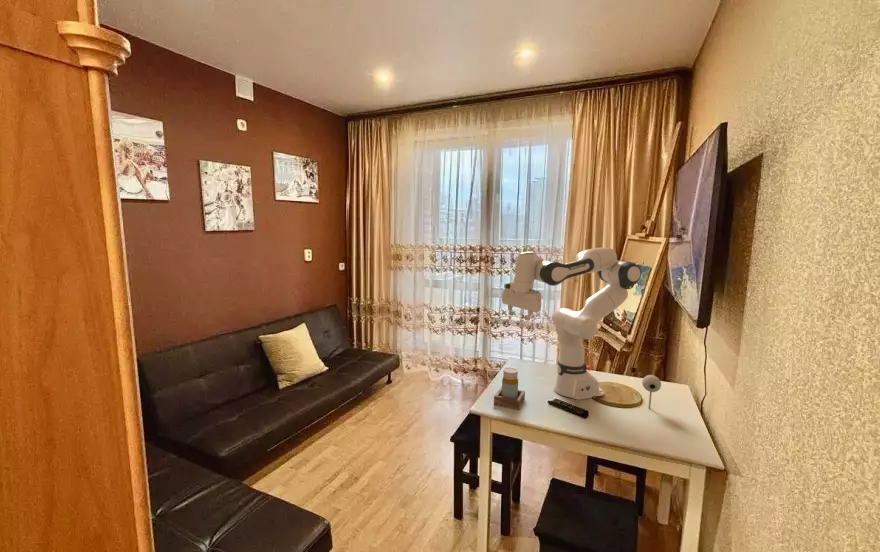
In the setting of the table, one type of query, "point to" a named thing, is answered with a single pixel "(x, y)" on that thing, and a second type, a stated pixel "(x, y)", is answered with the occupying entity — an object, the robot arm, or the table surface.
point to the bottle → (510, 383)
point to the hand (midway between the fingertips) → (519, 317)
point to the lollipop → (651, 385)
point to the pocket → (509, 400)
